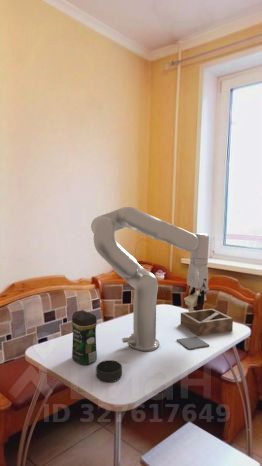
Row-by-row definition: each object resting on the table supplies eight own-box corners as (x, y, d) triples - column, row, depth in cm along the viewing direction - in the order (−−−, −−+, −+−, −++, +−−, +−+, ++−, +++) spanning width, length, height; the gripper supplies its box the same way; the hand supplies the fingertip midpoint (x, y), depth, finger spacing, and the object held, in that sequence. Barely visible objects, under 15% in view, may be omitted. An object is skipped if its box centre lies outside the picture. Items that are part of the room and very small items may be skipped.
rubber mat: (188, 349, 134) (188, 348, 134) (176, 340, 143) (176, 339, 143) (209, 346, 138) (209, 344, 138) (196, 337, 147) (196, 336, 147)
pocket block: (198, 336, 149) (198, 323, 148) (180, 324, 164) (180, 312, 163) (232, 330, 156) (232, 318, 155) (212, 319, 171) (212, 308, 170)
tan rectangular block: (192, 307, 140) (190, 301, 140) (185, 304, 145) (183, 298, 144) (206, 299, 143) (205, 293, 142) (199, 296, 148) (198, 290, 147)
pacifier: (191, 322, 167) (198, 319, 171) (191, 310, 166) (198, 308, 170) (180, 319, 172) (187, 316, 176) (180, 307, 172) (187, 305, 176)
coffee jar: (68, 358, 126) (68, 311, 125) (86, 352, 131) (85, 307, 130) (82, 367, 119) (82, 317, 117) (100, 361, 124) (100, 313, 122)
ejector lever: (197, 331, 154) (196, 329, 154) (190, 327, 160) (189, 325, 160) (221, 315, 159) (221, 314, 159) (214, 312, 165) (213, 310, 164)
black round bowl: (127, 376, 113) (127, 365, 113) (107, 386, 107) (107, 374, 106) (110, 367, 119) (110, 357, 119) (90, 376, 113) (90, 365, 113)
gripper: (180, 258, 149) (179, 298, 150) (203, 264, 133) (201, 308, 135) (194, 258, 152) (192, 296, 153) (218, 264, 137) (215, 307, 138)
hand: (196, 302), depth 144 cm, fingers closed on tan rectangular block, 4 cm apart
